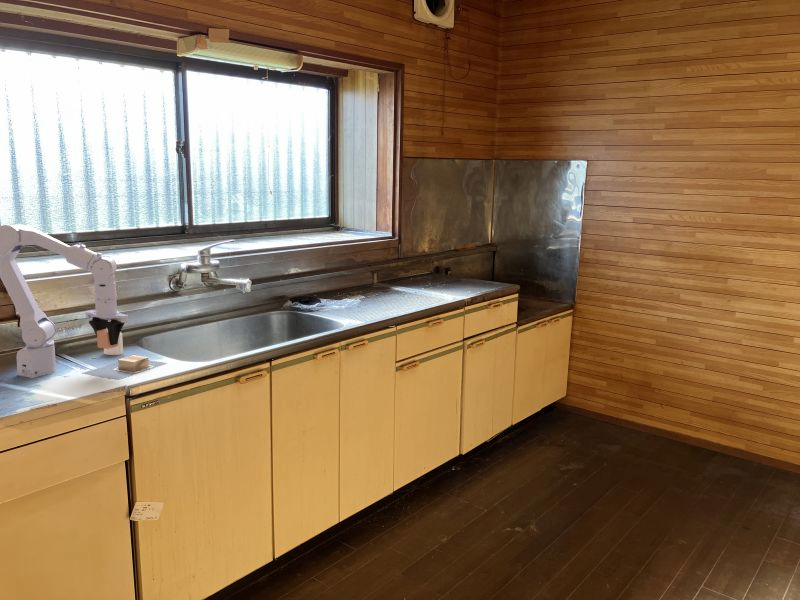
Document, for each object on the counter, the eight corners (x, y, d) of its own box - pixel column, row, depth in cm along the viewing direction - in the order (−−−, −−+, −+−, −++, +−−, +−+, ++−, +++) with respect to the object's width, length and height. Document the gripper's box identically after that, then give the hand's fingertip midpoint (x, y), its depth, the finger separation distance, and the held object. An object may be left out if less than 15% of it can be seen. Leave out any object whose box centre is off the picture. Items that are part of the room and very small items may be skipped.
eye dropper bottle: (112, 358, 205) (111, 322, 203) (102, 355, 208) (100, 319, 206) (125, 355, 209) (123, 320, 207) (114, 353, 212) (112, 317, 210)
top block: (108, 349, 186) (107, 332, 185) (97, 347, 187) (96, 330, 187) (118, 346, 190) (117, 329, 189) (108, 344, 191) (107, 328, 190)
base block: (134, 371, 189) (133, 362, 189) (118, 369, 191) (118, 359, 191) (148, 366, 195) (148, 357, 194) (133, 364, 197) (133, 355, 196)
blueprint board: (118, 382, 181) (118, 379, 181) (81, 375, 186) (81, 372, 186) (167, 365, 200) (167, 362, 200) (132, 359, 205) (132, 357, 204)
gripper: (135, 298, 187) (137, 343, 189) (97, 294, 192) (100, 338, 195) (116, 302, 181) (118, 348, 183) (78, 297, 186) (81, 342, 188)
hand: (108, 343), depth 188 cm, fingers closed on top block, 4 cm apart
